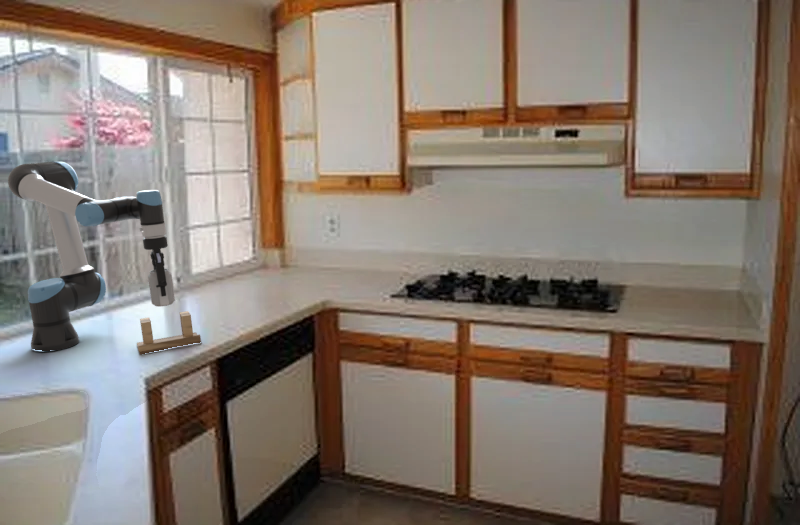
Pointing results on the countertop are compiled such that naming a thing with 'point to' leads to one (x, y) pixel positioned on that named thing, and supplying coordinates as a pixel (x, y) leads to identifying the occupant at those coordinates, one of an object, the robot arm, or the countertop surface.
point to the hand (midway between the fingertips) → (163, 302)
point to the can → (154, 290)
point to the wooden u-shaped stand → (167, 342)
